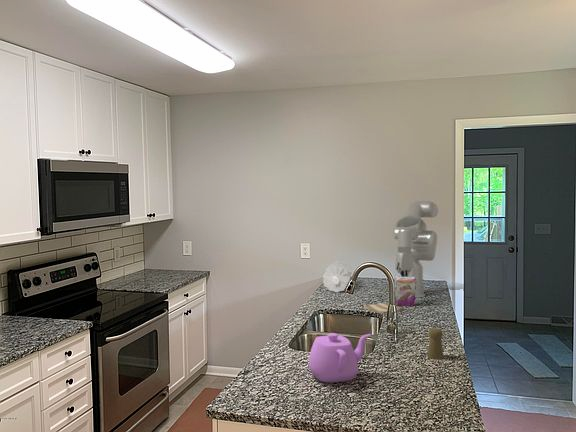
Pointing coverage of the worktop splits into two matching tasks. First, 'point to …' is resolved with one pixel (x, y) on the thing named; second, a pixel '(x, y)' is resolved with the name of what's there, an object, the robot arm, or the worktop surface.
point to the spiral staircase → (337, 276)
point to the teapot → (335, 358)
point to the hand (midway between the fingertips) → (404, 282)
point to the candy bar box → (405, 290)
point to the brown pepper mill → (435, 344)
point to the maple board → (380, 308)
